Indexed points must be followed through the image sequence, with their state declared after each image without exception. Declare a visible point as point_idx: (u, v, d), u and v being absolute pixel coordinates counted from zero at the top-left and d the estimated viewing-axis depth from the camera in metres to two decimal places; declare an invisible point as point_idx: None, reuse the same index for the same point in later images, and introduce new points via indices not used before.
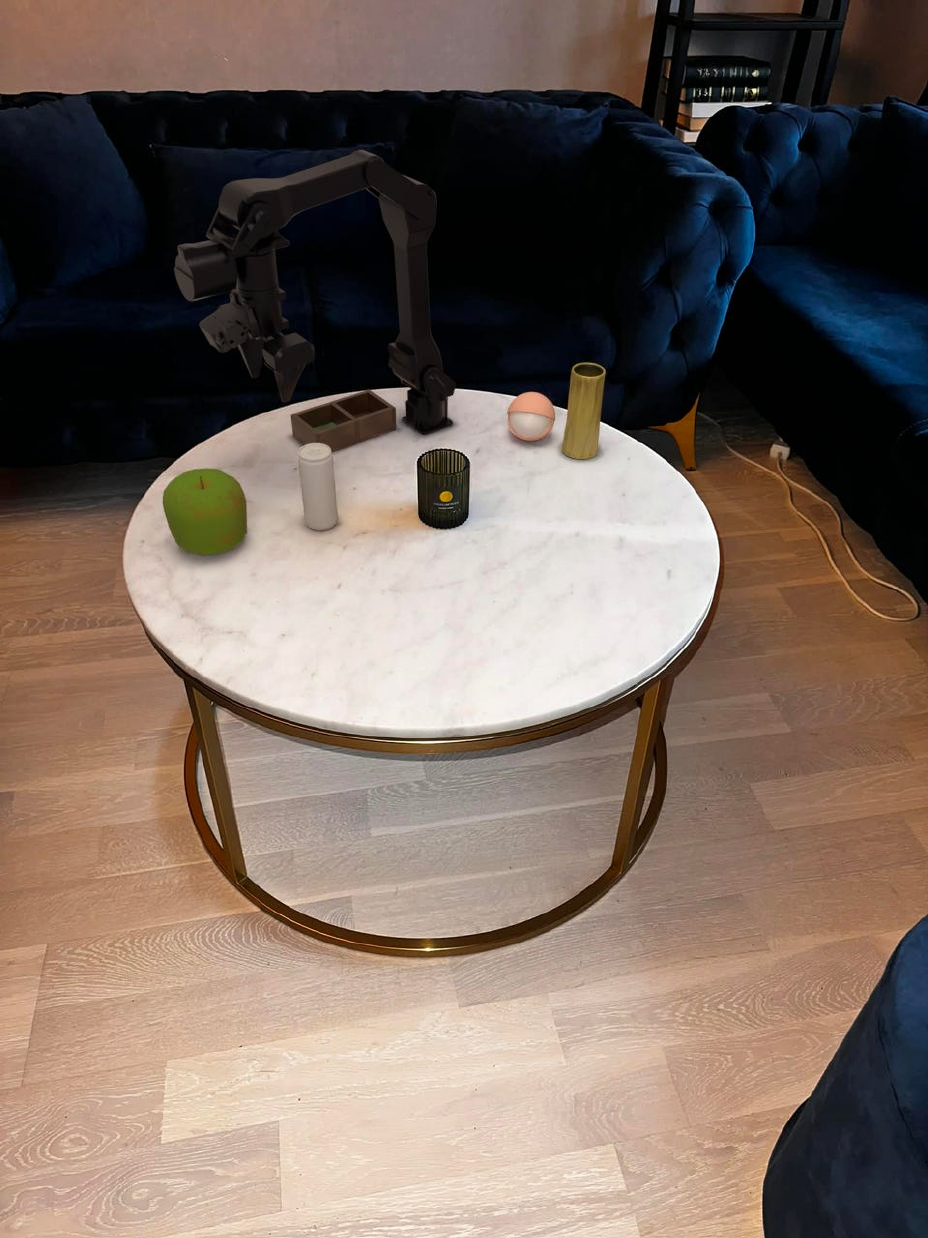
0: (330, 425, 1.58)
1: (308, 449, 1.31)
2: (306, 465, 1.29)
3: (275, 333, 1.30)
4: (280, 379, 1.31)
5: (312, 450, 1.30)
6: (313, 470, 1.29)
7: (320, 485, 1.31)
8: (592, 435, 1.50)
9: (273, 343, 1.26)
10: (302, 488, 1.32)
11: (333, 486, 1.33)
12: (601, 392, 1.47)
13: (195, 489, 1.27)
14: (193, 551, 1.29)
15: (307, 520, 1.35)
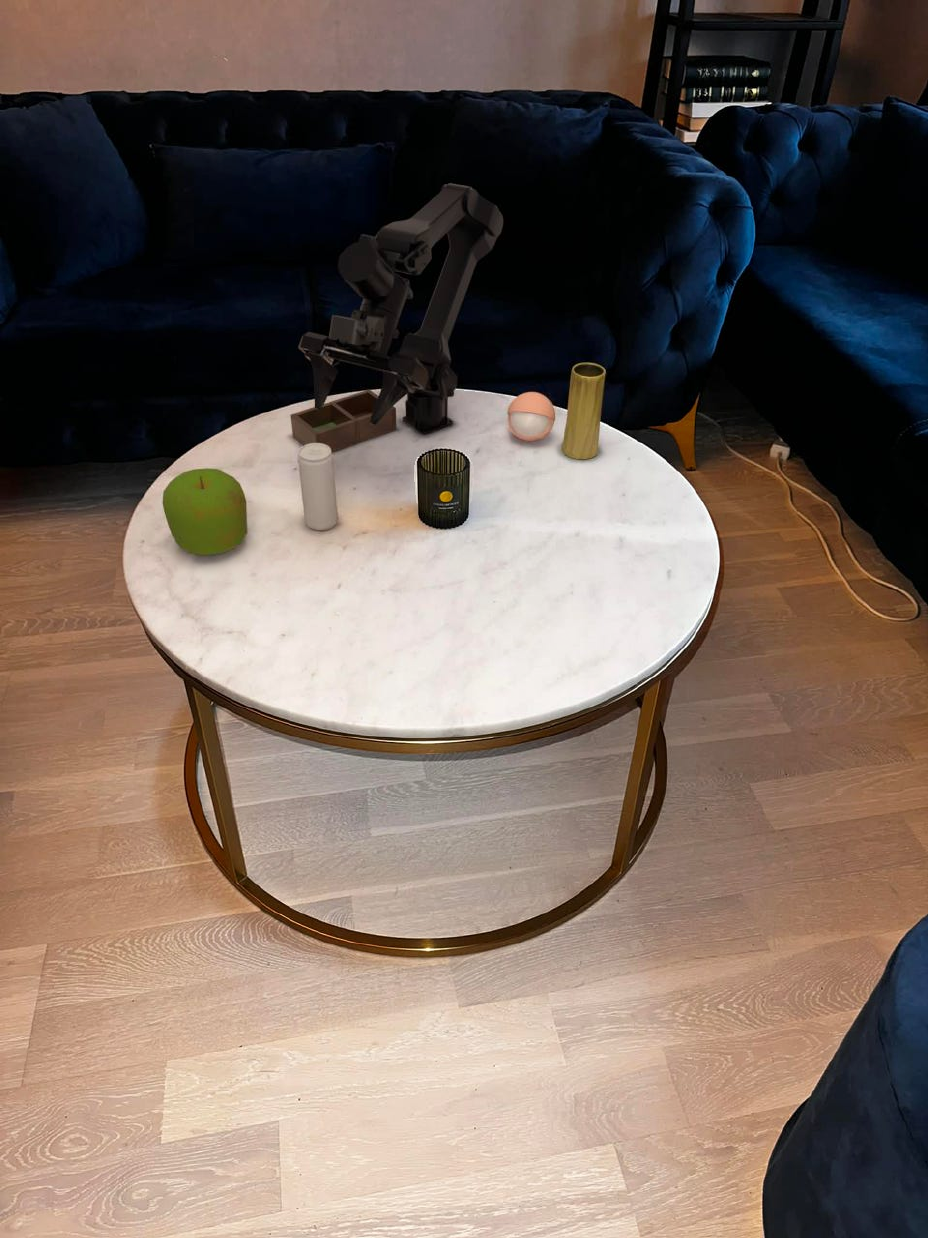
0: (330, 425, 1.58)
1: (308, 449, 1.31)
2: (306, 465, 1.29)
3: None
4: (388, 394, 1.32)
5: (312, 450, 1.30)
6: (313, 470, 1.29)
7: (320, 485, 1.31)
8: (592, 435, 1.50)
9: (403, 355, 1.31)
10: (302, 488, 1.32)
11: (333, 486, 1.33)
12: (601, 392, 1.47)
13: (195, 489, 1.27)
14: (193, 551, 1.29)
15: (307, 520, 1.35)
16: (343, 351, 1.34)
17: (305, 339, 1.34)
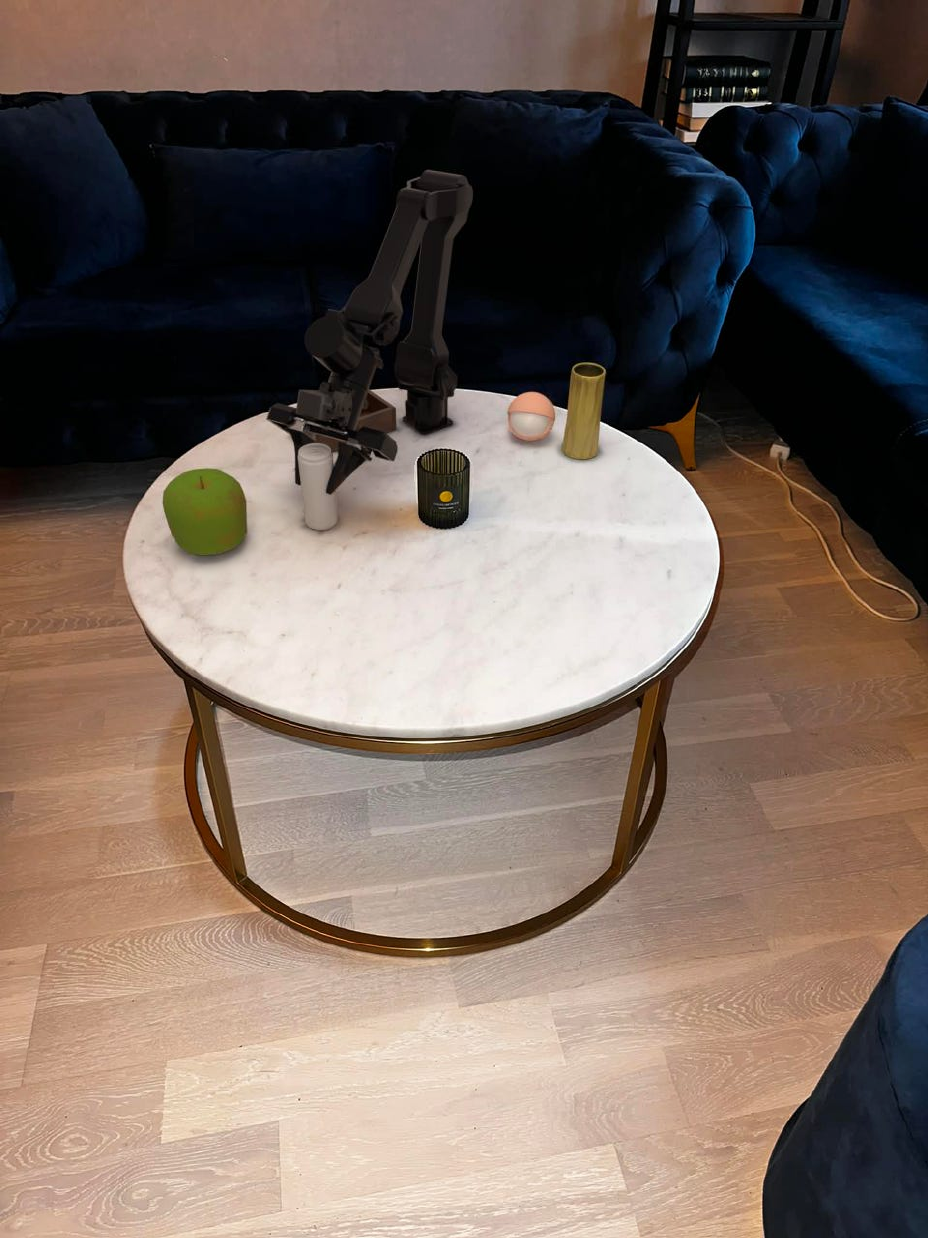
0: None
1: (308, 449, 1.31)
2: (306, 465, 1.29)
3: None
4: (343, 465, 1.30)
5: (312, 450, 1.30)
6: (313, 470, 1.29)
7: (320, 485, 1.31)
8: (592, 435, 1.50)
9: None
10: (302, 488, 1.32)
11: None
12: (601, 392, 1.47)
13: (195, 489, 1.27)
14: (193, 551, 1.29)
15: (308, 520, 1.35)
16: (324, 427, 1.31)
17: (273, 411, 1.32)
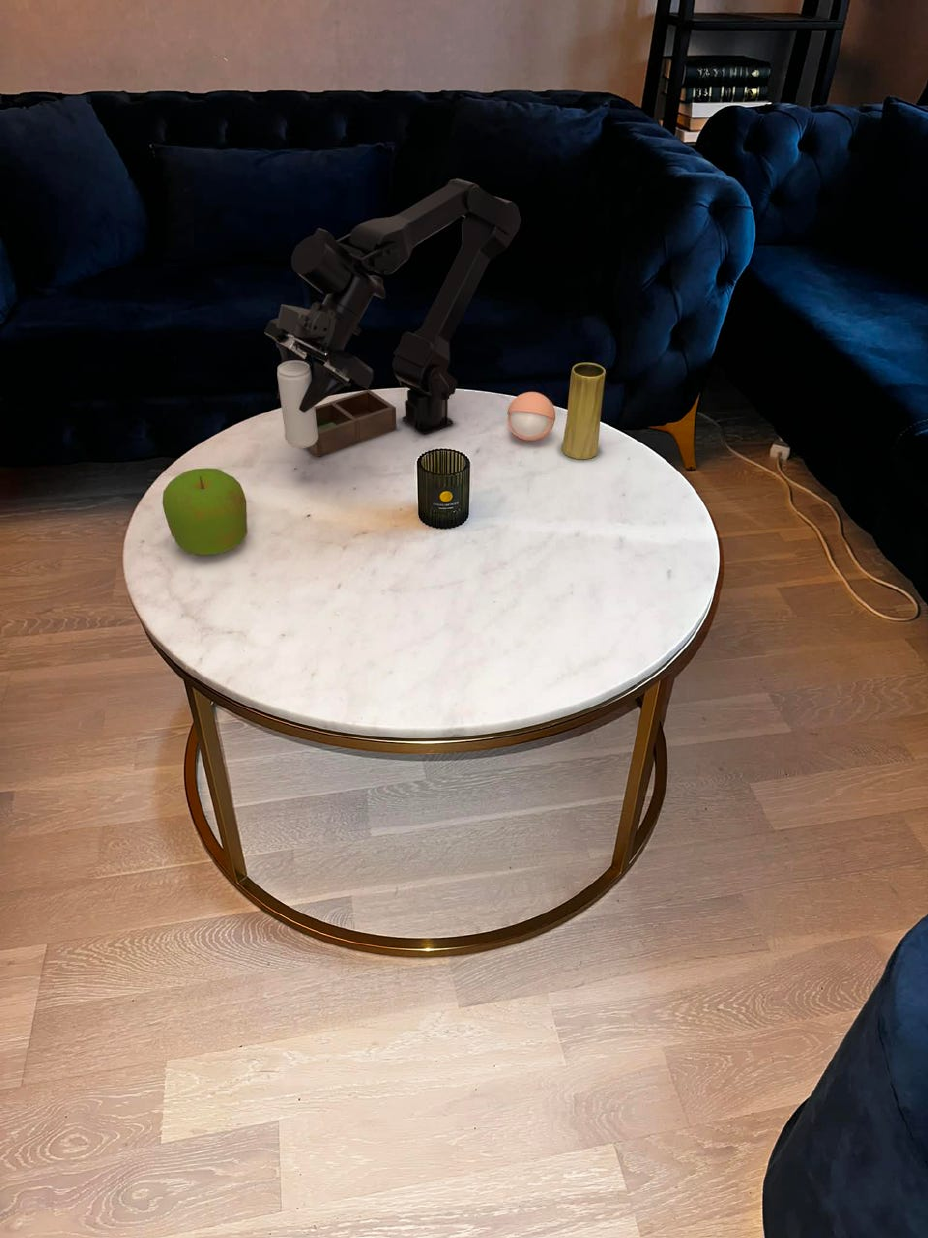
0: (330, 425, 1.58)
1: (289, 365, 1.35)
2: (281, 379, 1.33)
3: None
4: (317, 384, 1.33)
5: (292, 366, 1.34)
6: (287, 385, 1.33)
7: (294, 401, 1.35)
8: (592, 435, 1.50)
9: (346, 352, 1.31)
10: (281, 403, 1.37)
11: None
12: (601, 392, 1.47)
13: (195, 489, 1.27)
14: (193, 551, 1.29)
15: (286, 435, 1.40)
16: (309, 346, 1.35)
17: (270, 325, 1.37)
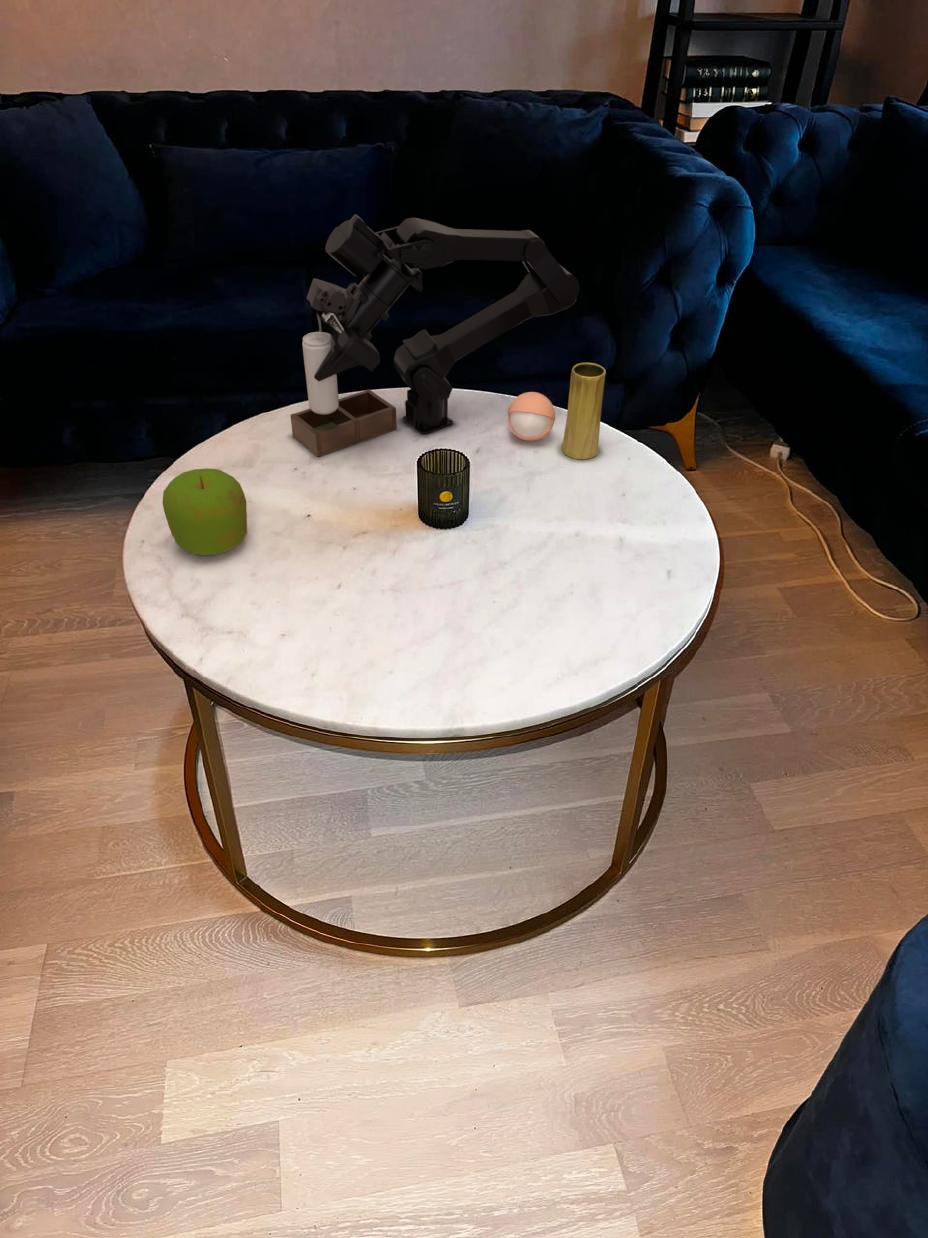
0: (330, 425, 1.58)
1: (317, 335, 1.45)
2: (303, 346, 1.44)
3: None
4: (330, 357, 1.43)
5: (317, 337, 1.45)
6: (306, 352, 1.44)
7: (311, 369, 1.45)
8: (592, 435, 1.50)
9: (355, 332, 1.39)
10: None
11: None
12: (601, 392, 1.47)
13: (195, 489, 1.27)
14: (193, 551, 1.29)
15: (308, 399, 1.51)
16: (338, 321, 1.44)
17: None
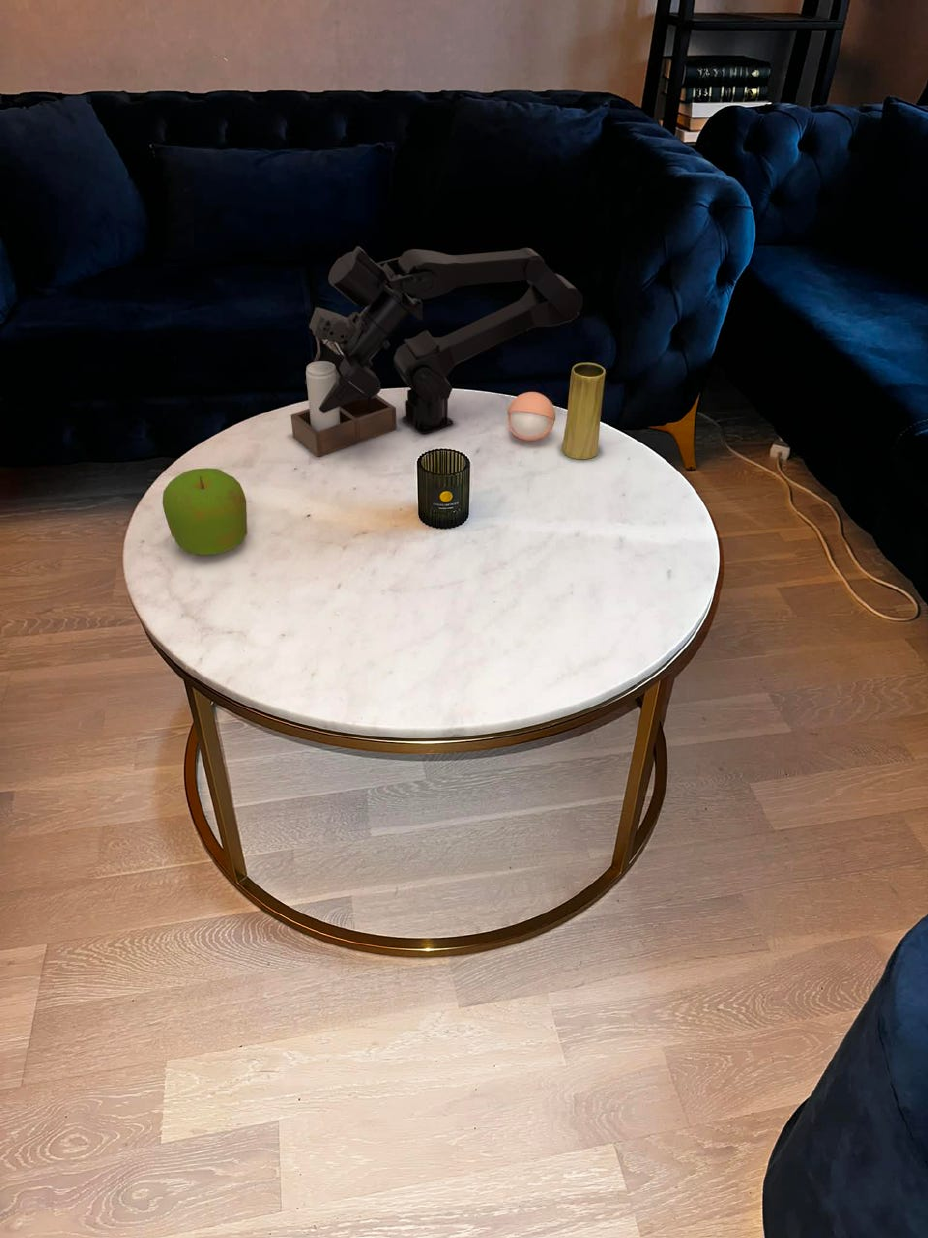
0: None
1: (320, 365, 1.49)
2: (306, 375, 1.48)
3: (359, 362, 1.46)
4: (335, 390, 1.44)
5: (321, 366, 1.48)
6: (309, 381, 1.47)
7: (314, 397, 1.49)
8: (592, 435, 1.50)
9: (357, 361, 1.42)
10: None
11: None
12: (601, 392, 1.47)
13: (195, 489, 1.27)
14: (193, 551, 1.29)
15: None
16: (336, 344, 1.49)
17: None
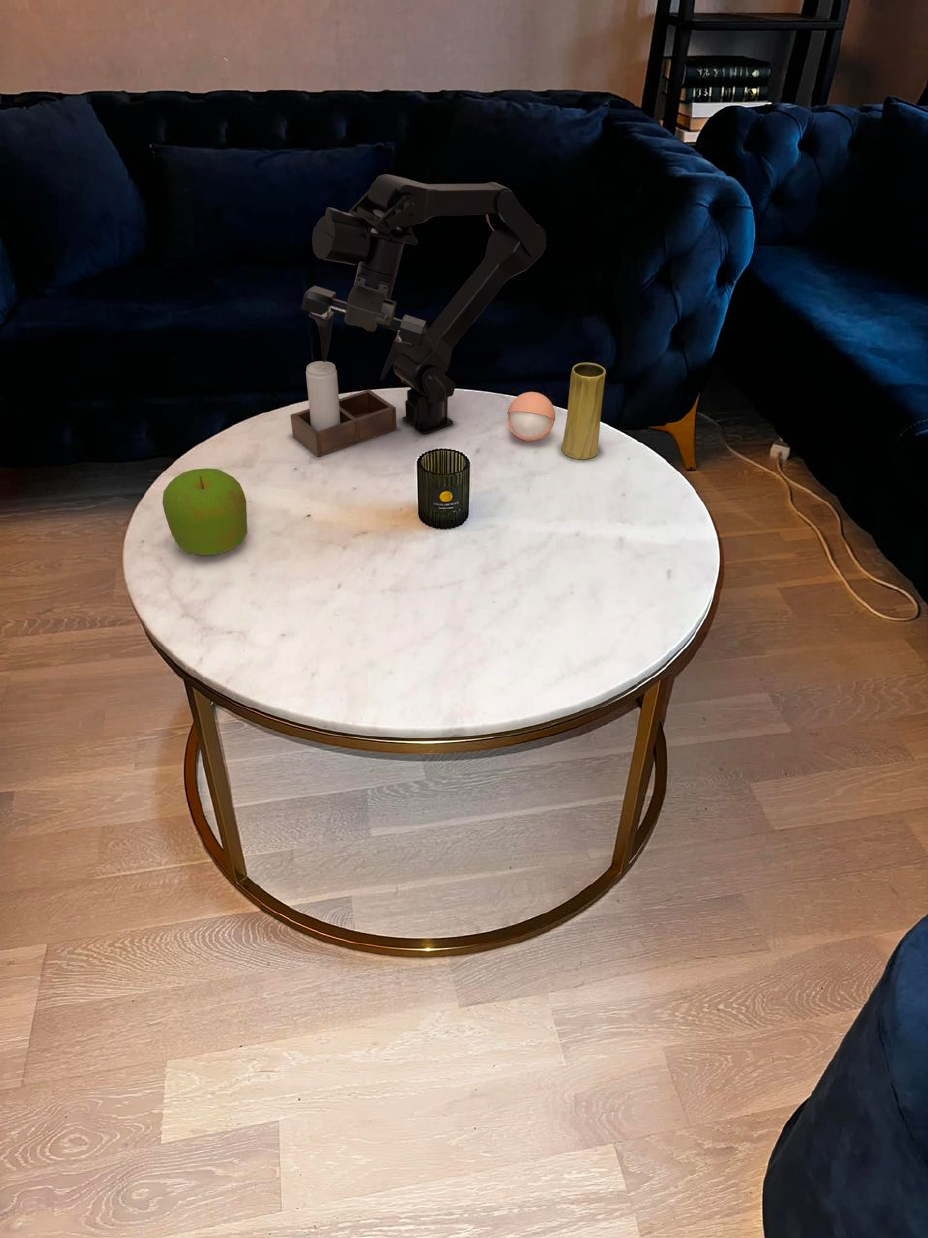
0: None
1: (320, 365, 1.49)
2: (306, 375, 1.48)
3: None
4: (397, 357, 1.44)
5: (321, 366, 1.48)
6: (309, 381, 1.47)
7: (314, 397, 1.49)
8: (592, 435, 1.50)
9: (411, 322, 1.40)
10: None
11: (329, 404, 1.50)
12: (601, 392, 1.47)
13: (195, 489, 1.27)
14: (193, 551, 1.29)
15: None
16: None
17: (309, 302, 1.38)
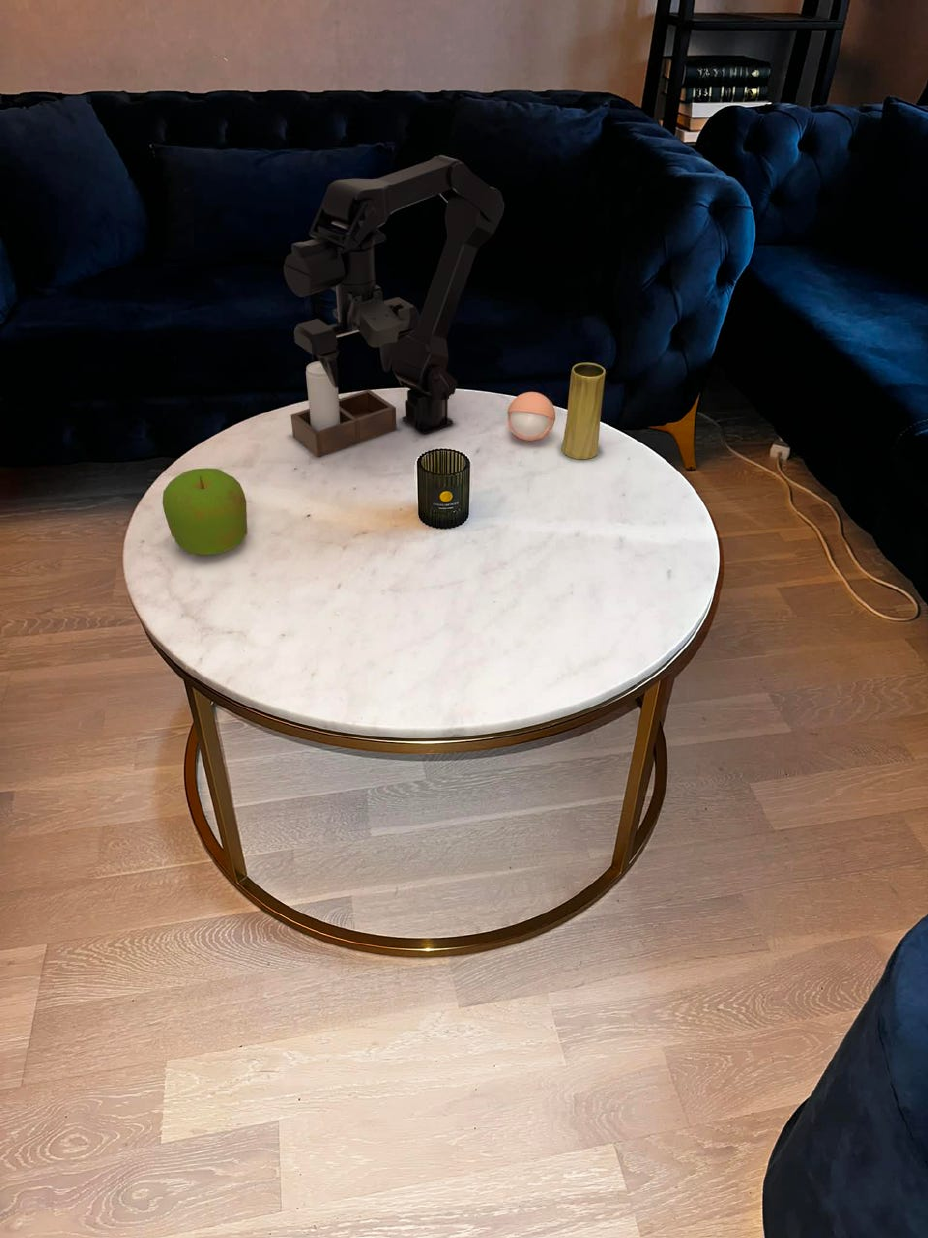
0: None
1: (320, 365, 1.49)
2: (306, 375, 1.48)
3: None
4: (397, 345, 1.44)
5: (321, 366, 1.48)
6: (309, 381, 1.47)
7: (314, 397, 1.49)
8: (592, 435, 1.50)
9: None
10: None
11: (329, 404, 1.50)
12: (601, 392, 1.47)
13: (195, 489, 1.27)
14: (193, 551, 1.29)
15: None
16: (349, 332, 1.37)
17: (320, 345, 1.33)
